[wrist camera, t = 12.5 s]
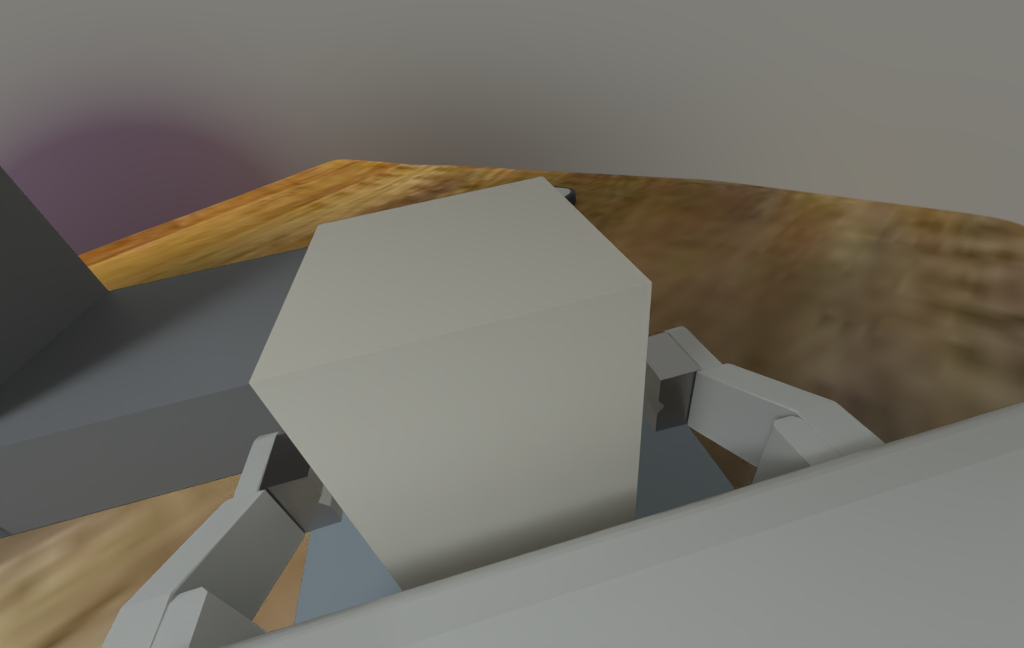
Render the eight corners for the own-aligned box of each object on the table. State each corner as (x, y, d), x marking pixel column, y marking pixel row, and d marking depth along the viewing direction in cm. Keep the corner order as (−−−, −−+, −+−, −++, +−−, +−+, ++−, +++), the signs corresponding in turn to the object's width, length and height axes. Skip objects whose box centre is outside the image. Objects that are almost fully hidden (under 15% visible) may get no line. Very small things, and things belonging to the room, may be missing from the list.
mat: (246, 964, 9) (231, 968, 9) (326, 483, 18) (320, 476, 18) (892, 719, 10) (902, 714, 10) (656, 392, 20) (657, 383, 20)
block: (465, 675, 12) (248, 382, 5) (449, 514, 16) (318, 224, 9) (627, 622, 12) (651, 282, 5) (571, 479, 16) (542, 176, 9)
